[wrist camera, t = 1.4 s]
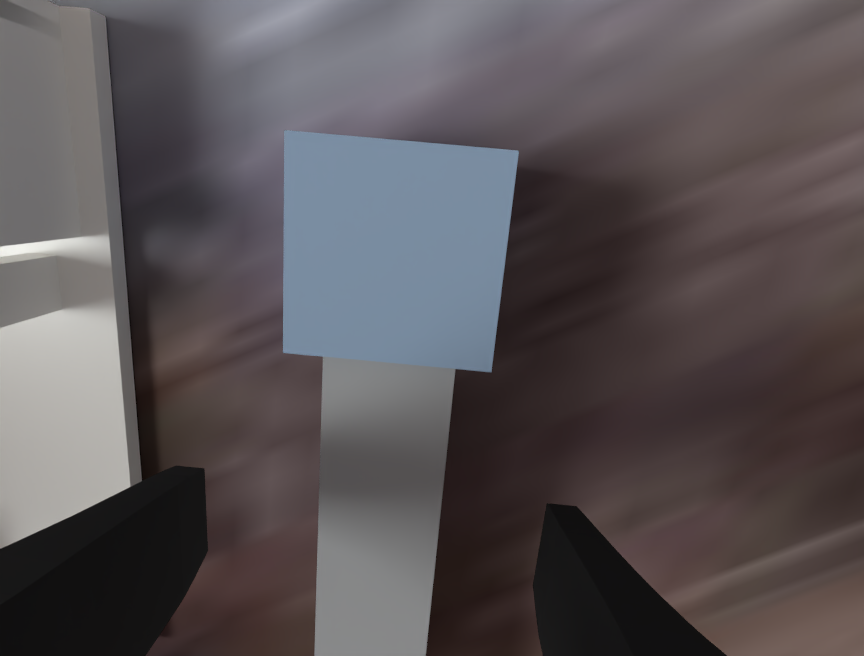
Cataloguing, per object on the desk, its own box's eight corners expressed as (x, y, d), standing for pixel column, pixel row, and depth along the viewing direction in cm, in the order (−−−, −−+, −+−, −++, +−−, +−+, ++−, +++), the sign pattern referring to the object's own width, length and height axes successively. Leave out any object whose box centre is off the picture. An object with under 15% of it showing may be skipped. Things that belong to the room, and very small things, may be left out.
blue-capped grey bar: (440, 658, 18) (438, 802, 14) (320, 646, 19) (280, 785, 14) (497, 163, 14) (519, 150, 9) (336, 149, 14) (284, 130, 10)
